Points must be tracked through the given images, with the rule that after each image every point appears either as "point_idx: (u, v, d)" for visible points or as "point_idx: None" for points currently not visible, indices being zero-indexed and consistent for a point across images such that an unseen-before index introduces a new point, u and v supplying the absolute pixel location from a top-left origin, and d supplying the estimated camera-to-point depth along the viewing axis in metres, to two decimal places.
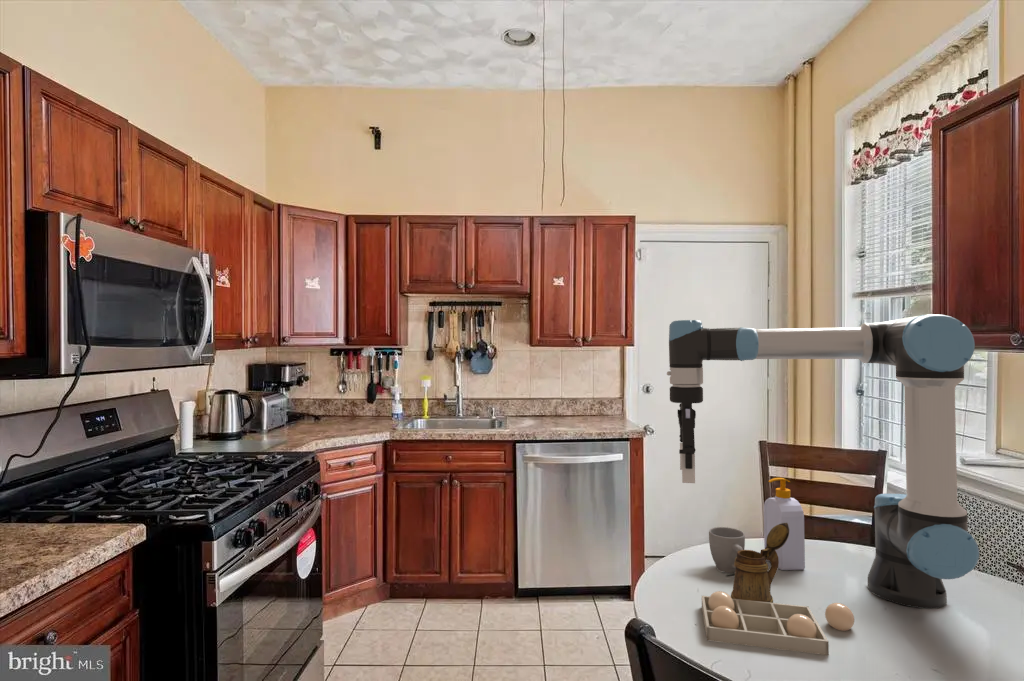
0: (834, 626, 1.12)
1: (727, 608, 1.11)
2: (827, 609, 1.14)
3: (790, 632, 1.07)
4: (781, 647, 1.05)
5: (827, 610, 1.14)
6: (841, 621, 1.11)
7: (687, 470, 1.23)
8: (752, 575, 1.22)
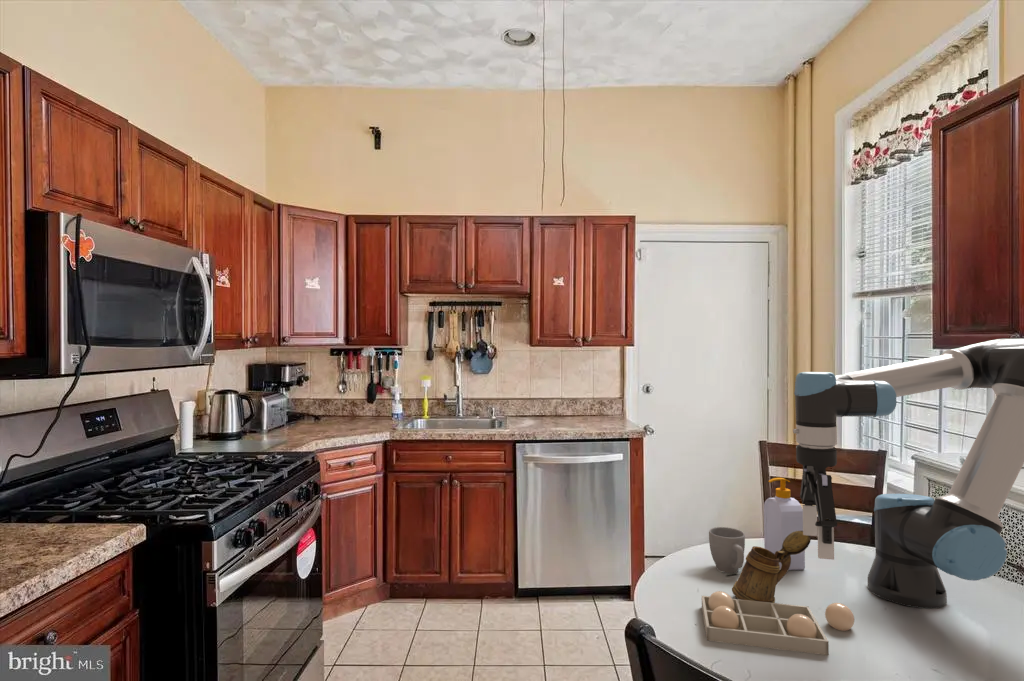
0: (834, 626, 1.12)
1: (727, 608, 1.11)
2: (827, 609, 1.14)
3: (790, 632, 1.07)
4: (781, 647, 1.05)
5: (827, 610, 1.14)
6: (841, 621, 1.11)
7: (824, 544, 1.09)
8: (763, 574, 1.21)
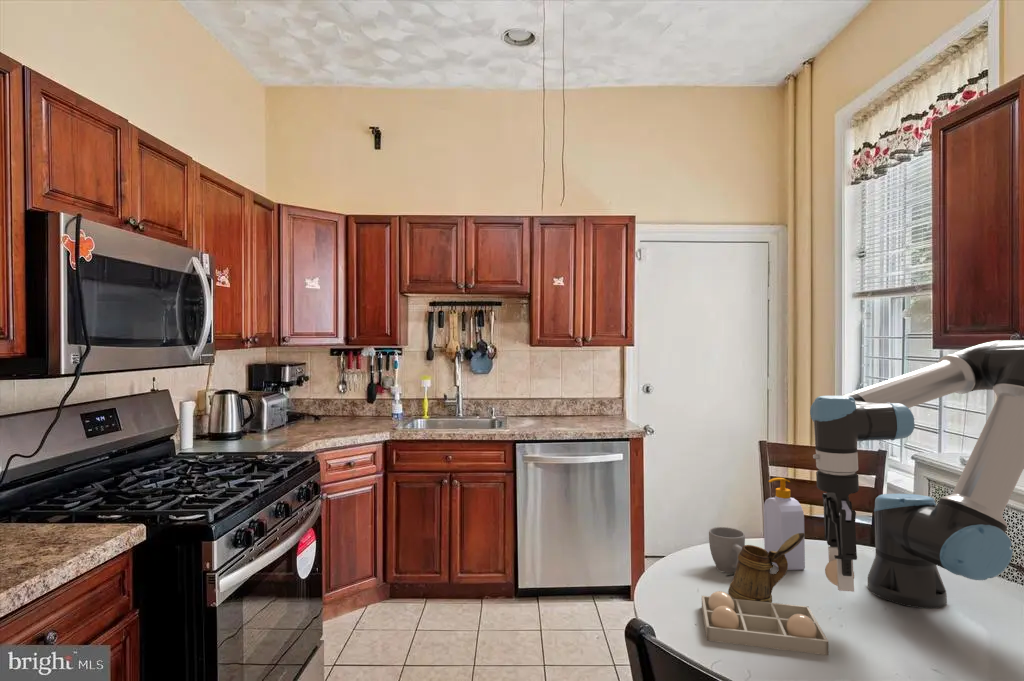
0: (834, 582, 1.13)
1: (727, 608, 1.11)
2: (827, 566, 1.14)
3: (790, 632, 1.07)
4: (781, 647, 1.05)
5: (827, 567, 1.14)
6: None
7: (844, 577, 1.11)
8: (746, 568, 1.24)
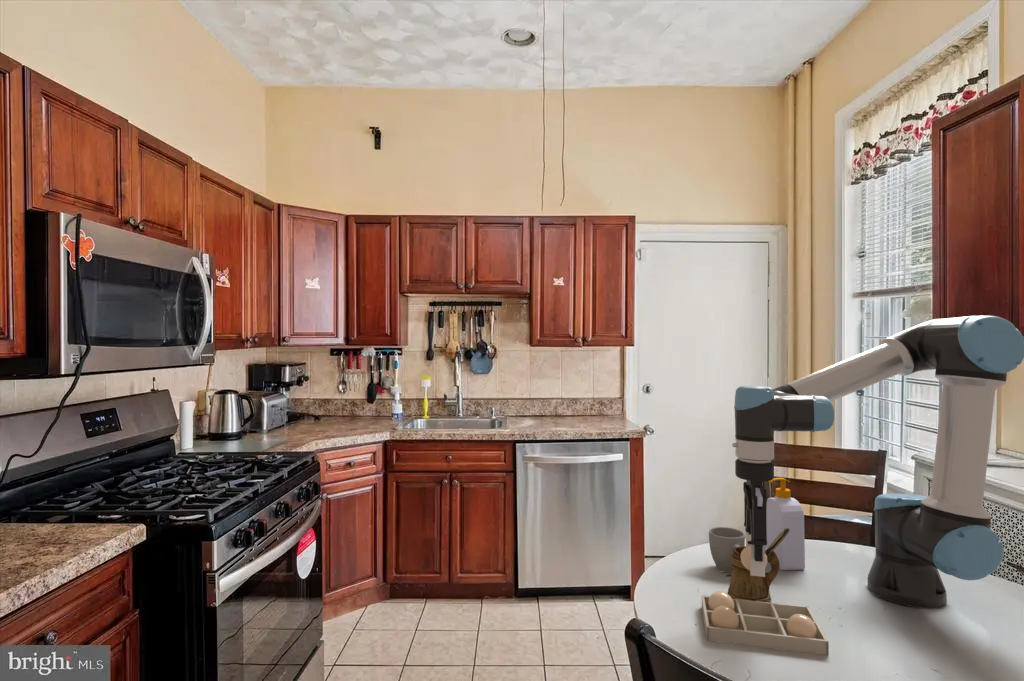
0: (747, 567, 1.15)
1: (727, 608, 1.11)
2: (742, 551, 1.17)
3: (790, 632, 1.07)
4: (781, 647, 1.05)
5: (742, 552, 1.17)
6: None
7: (756, 562, 1.13)
8: (738, 570, 1.25)
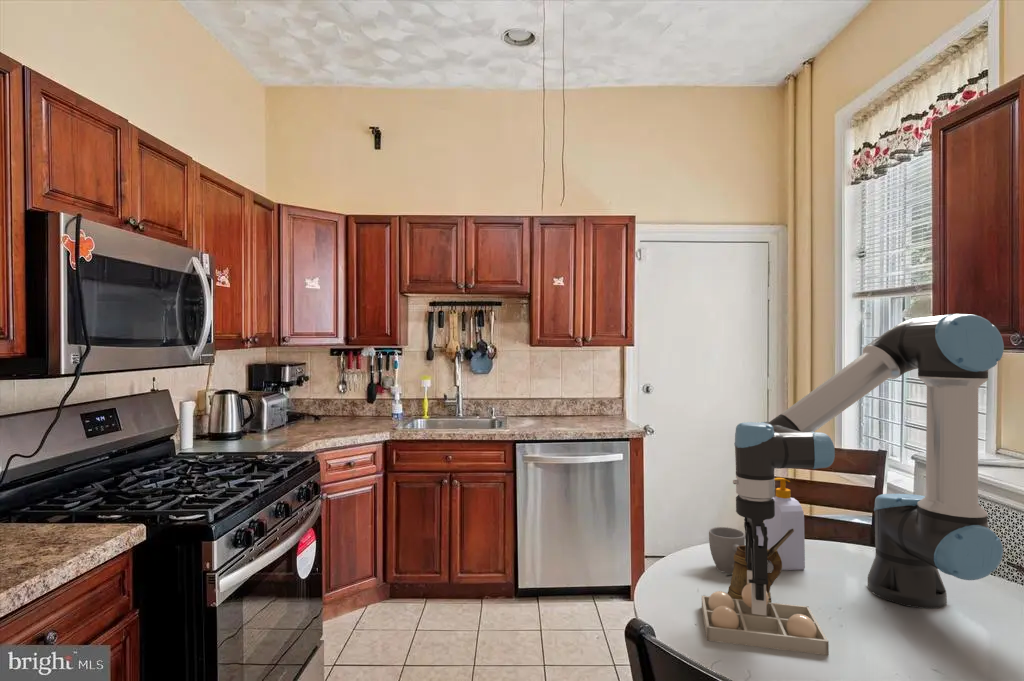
0: (749, 605, 1.15)
1: (727, 608, 1.11)
2: (743, 589, 1.17)
3: (790, 632, 1.07)
4: (781, 647, 1.05)
5: (743, 589, 1.17)
6: None
7: (757, 600, 1.13)
8: (739, 566, 1.26)
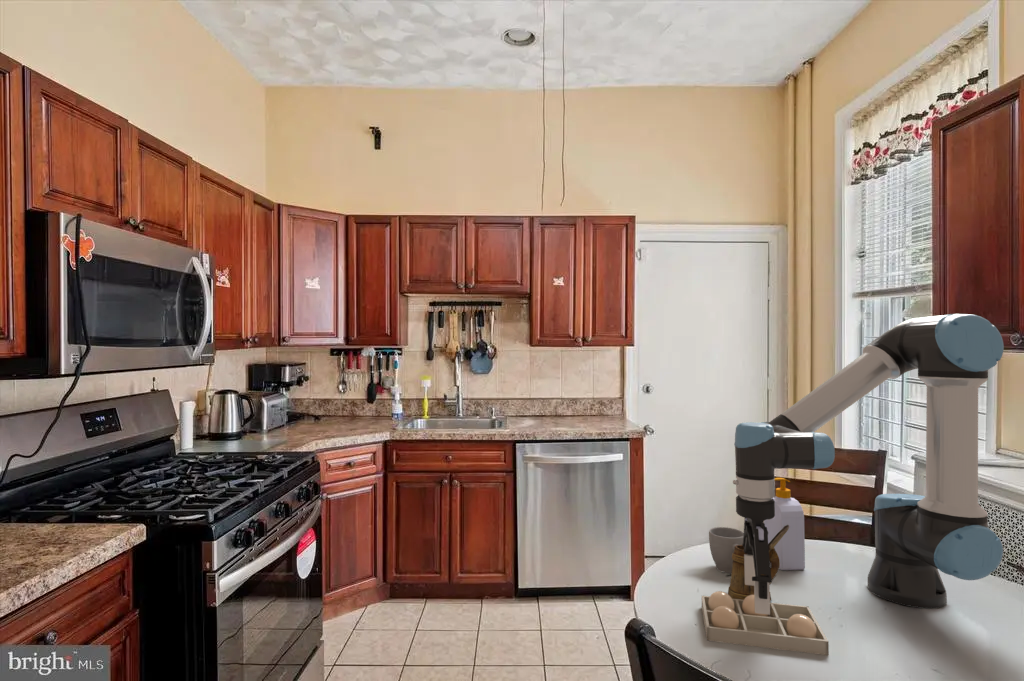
0: None
1: (727, 608, 1.11)
2: (744, 600, 1.17)
3: (790, 632, 1.07)
4: (781, 647, 1.05)
5: (744, 601, 1.17)
6: None
7: (761, 599, 1.09)
8: (737, 565, 1.27)
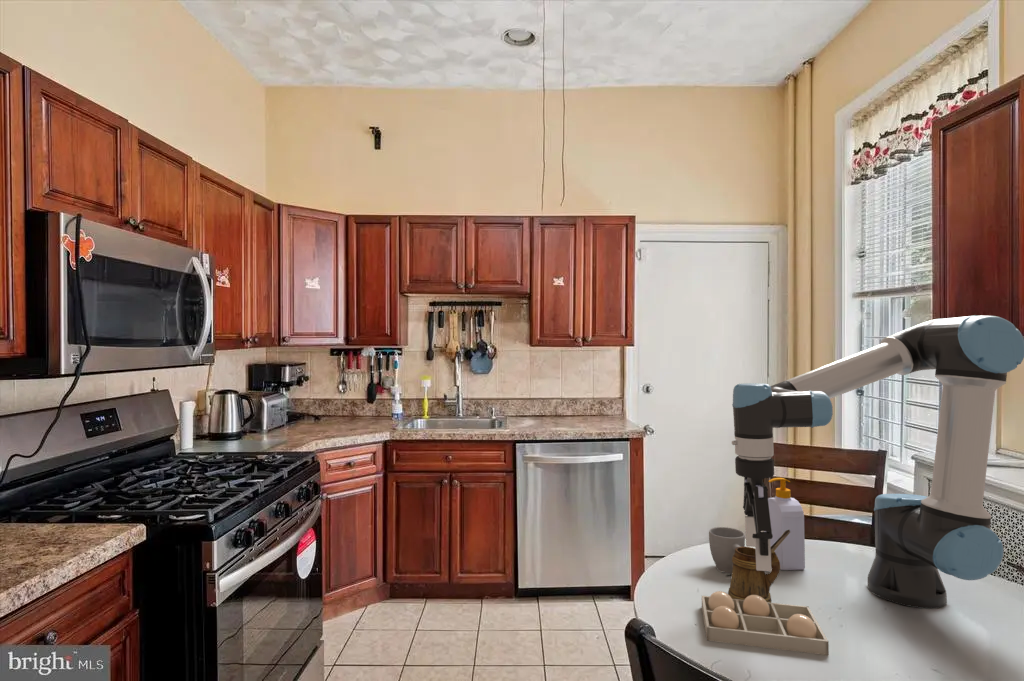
0: None
1: (727, 608, 1.11)
2: (745, 600, 1.17)
3: (790, 632, 1.07)
4: (781, 647, 1.05)
5: (745, 601, 1.17)
6: (756, 613, 1.14)
7: (762, 556, 1.10)
8: (738, 568, 1.26)
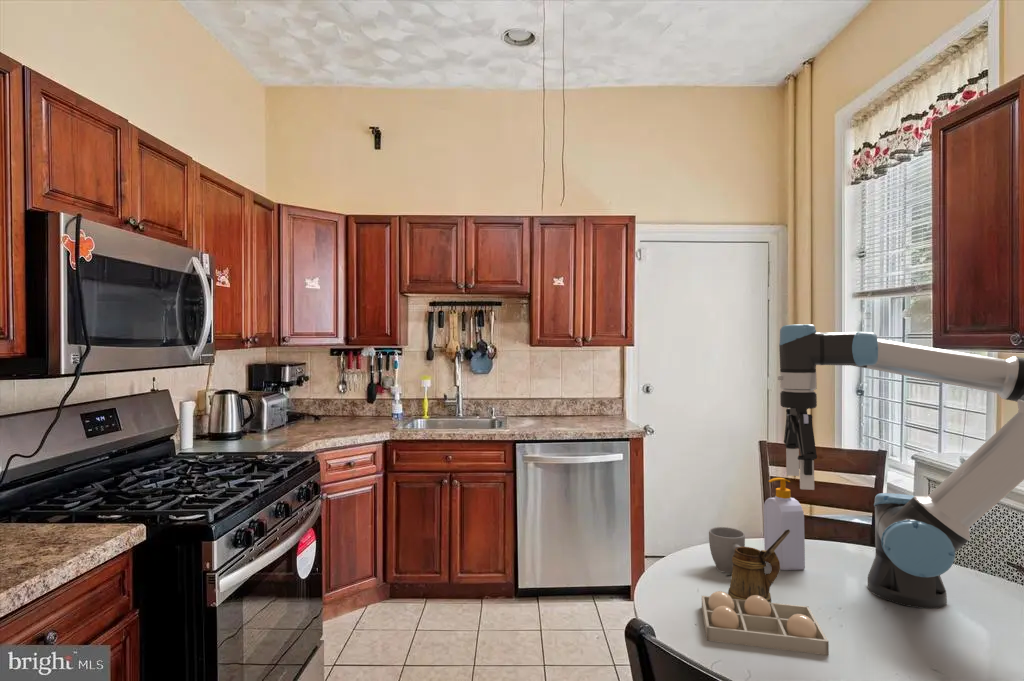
0: None
1: (727, 608, 1.11)
2: (747, 599, 1.17)
3: (790, 632, 1.07)
4: (781, 647, 1.05)
5: (747, 600, 1.16)
6: (758, 613, 1.14)
7: (806, 476, 1.22)
8: (737, 568, 1.26)
